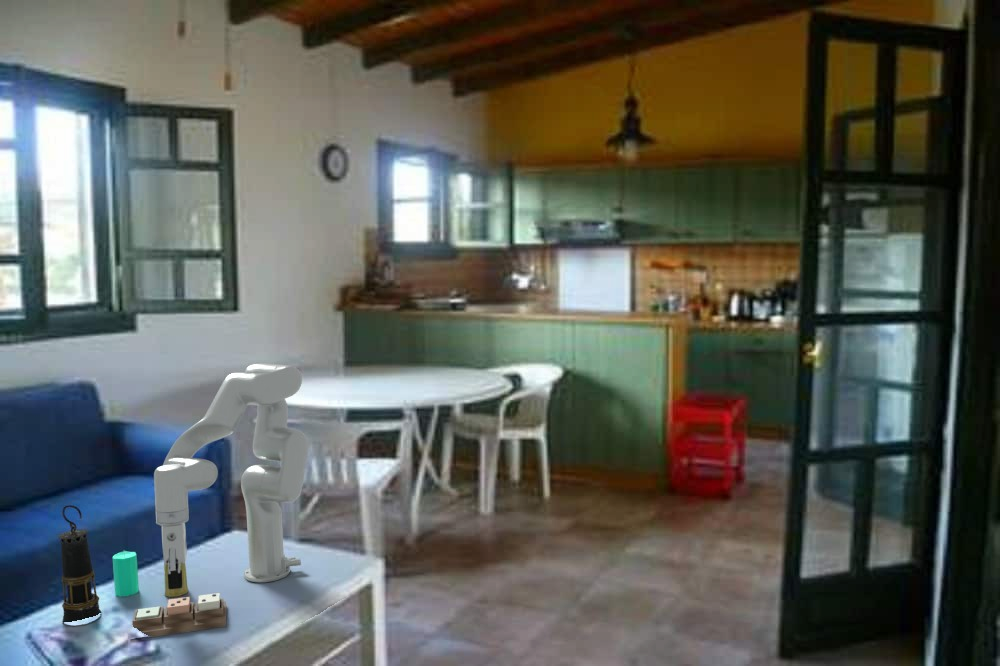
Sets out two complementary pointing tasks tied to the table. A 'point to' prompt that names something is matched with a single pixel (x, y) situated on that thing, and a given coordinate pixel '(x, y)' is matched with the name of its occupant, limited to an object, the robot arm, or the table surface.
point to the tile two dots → (209, 602)
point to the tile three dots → (178, 606)
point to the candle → (125, 573)
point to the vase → (181, 590)
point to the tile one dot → (148, 613)
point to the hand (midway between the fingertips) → (175, 587)
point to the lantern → (77, 574)
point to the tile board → (182, 621)
